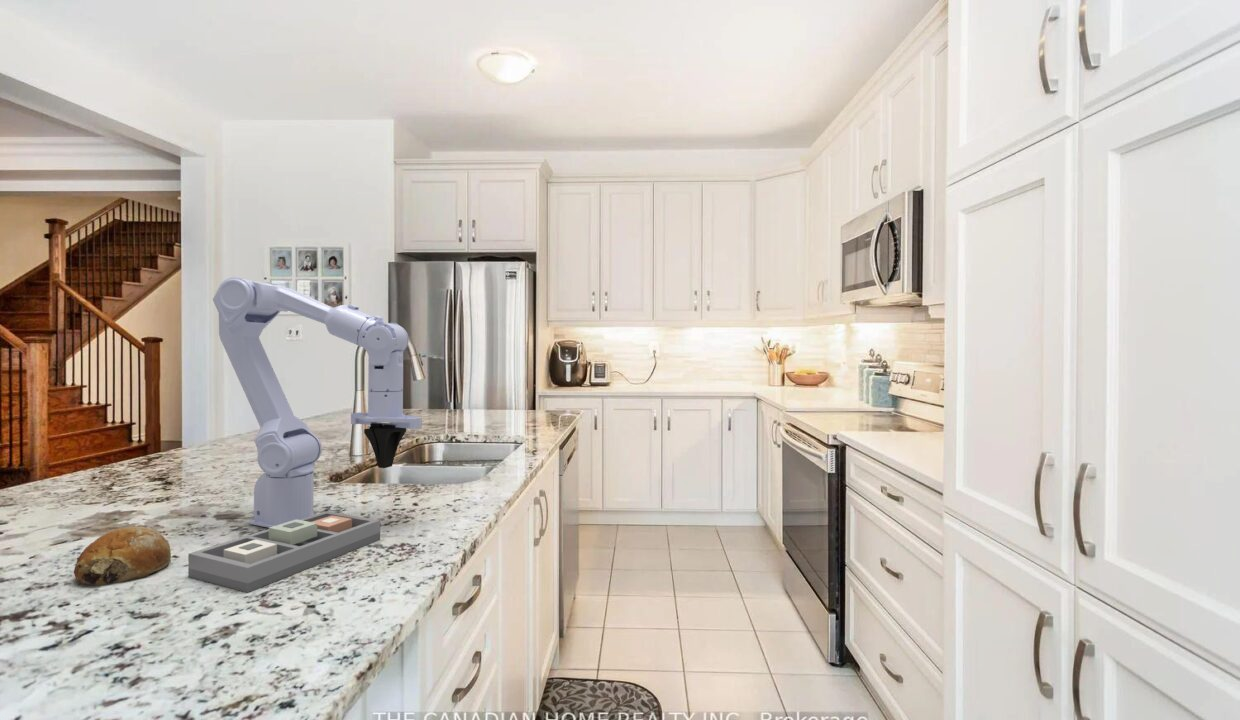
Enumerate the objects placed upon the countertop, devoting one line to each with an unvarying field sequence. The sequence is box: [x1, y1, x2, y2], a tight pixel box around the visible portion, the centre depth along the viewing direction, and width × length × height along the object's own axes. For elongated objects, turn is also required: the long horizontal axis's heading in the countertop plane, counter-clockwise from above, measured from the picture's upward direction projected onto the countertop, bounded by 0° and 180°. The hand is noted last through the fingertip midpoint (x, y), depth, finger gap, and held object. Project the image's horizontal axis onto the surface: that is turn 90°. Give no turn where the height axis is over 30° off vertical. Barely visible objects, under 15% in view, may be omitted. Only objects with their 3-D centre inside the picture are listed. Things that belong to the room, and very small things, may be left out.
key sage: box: [268, 519, 317, 545], centre depth 84 cm, size 4×4×2 cm
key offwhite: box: [223, 540, 277, 564], centre depth 78 cm, size 4×4×2 cm
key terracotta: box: [313, 515, 352, 533], centre depth 90 cm, size 4×4×2 cm
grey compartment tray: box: [187, 510, 381, 593], centre depth 84 cm, size 12×22×3 cm, turn 158°
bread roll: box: [73, 525, 172, 586], centre depth 78 cm, size 10×10×8 cm
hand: (385, 466), depth 100 cm, fingers closed
